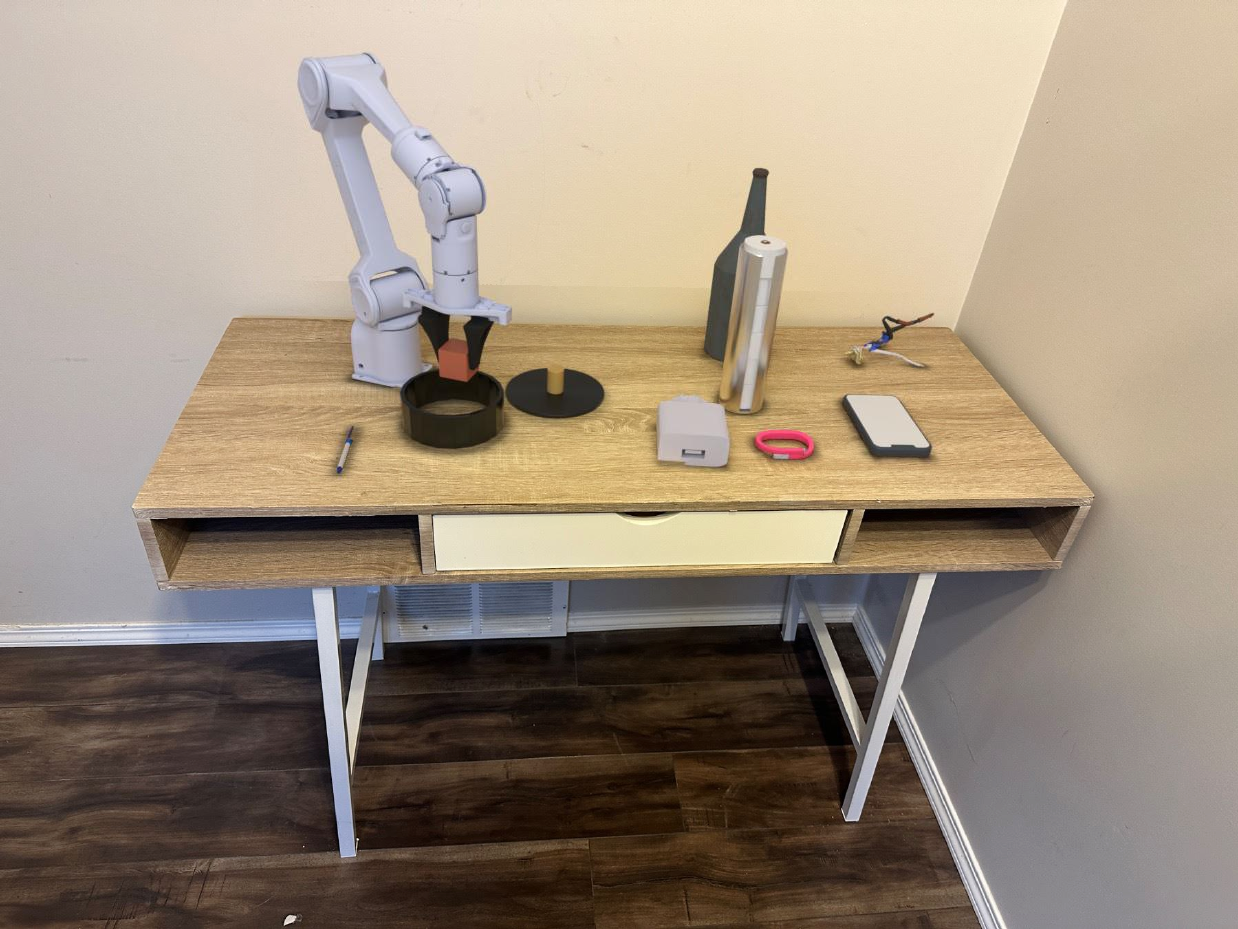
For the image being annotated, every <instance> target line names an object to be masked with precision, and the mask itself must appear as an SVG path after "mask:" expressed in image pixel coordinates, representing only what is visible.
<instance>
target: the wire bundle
mask: <svg viewBox="0 0 1238 929" xmlns="http://www.w3.org/2000/svg"><path fill="white" fill-rule="evenodd" d="M934 315H935V312H931V313H929V314H926V315H924V316H921V317H917V319H914V320H910V321H906V320H903V319H900V318H897V319H896V318H894V317H892V316H891V315H890V316H889V315H886V316H884V317H883V318H882V319H881V323H882V325H883V327H884V329H885V330H882V331H881V337H880V338H879V339H877V340H875V339H872V340H871V341H869V342H867V343H865V344H863V345H862V346H861V345H860V346H859V345H852V346H850V347H848V348H847V349H846V351H845V353H844V355H845V356H847V357H848V358H850V359H851V360H853V361H854V362H855V363H856V364H857V365H861V364H862V360H863V359H864V356H865V353H863V350H868V352H869V353H874V354H879V355H888V356H891V357H895V358H896V357H897V358H900V359H901V360H903V361H905V362H907V363H908V364H911V365H913V366H916V367H922V368H925V366H924V365H923V364H922V363H918V362H915V361H912V360H910V359H908V358H907V357H906V356H904V355H901V354H899V353H896V352H892V351H887V350H883V349H880V347H881V348H882V347H884V344H887V343H889V342H890V341H892V340H893V339H894V333H896V332H897V331H900V330H902V329H904V328H906V327H911V326H913V325H916V324H918V323H919V324H920V323H923V322H924V321H926V320H928V319H931V318H932V317H934ZM886 320H887V321H888V322H891V323H894V324H896V325H897V326H894V327H891V326H890V325H889V323H888V322H887V321H886Z"/></svg>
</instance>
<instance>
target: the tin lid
mask: <svg viewBox="0 0 1238 929" xmlns="http://www.w3.org/2000/svg"><path fill="white" fill-rule="evenodd" d="M505 397H506V399H507V401H508V402H509V404H511V405H512V406H513V407H514V408H515V409H517V410H519V411H520V412H523V413H525V414H527V415H530V416H534V417H538V418H543V419H544V418H546V419H570V418H575V417H580V416H584V415H587V414H589V413H591V412H593V411H595V410H596V409H597V408H598V407H600V406H601V405H602V403H603V401H604V399H605V389H604V387H603V385H602V384H601V382H600V381H599V380H597V379H596V378H595V377H593V376H591V375H590V374H587V373H585V372H582V371H579V370H575V369H571V368H565V367H564V366H562V365H560V364H551V365H549V366H547V367H542V368H541V367H540V368H535V369H530V370H527V371H524V372H521V373H519V374H517V375H515V376H514V377H512V378H511V379H510V380H509V381H508V383H507V384H506V387H505Z"/></svg>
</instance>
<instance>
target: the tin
mask: <svg viewBox="0 0 1238 929" xmlns="http://www.w3.org/2000/svg"><path fill="white" fill-rule="evenodd" d="M452 400H453V401H454V400H455V401H469V402H472V403H473V402H474V403H478V404H481V405H483V406H485V407H484V408H481V409H478V410H475V411H472V412H467V413H459V414H438V413H435V412H434V413H433V412H429V411H424V410H423V409H421V408H422V407H425V406H426V405H430V404H434V403H437V402H443V401H444V402H445V401H452ZM399 402H400V412H401V424H402V428H403V431H404V432H403V433H404V434H406V436H408V437H409V438H410V440H411V441H414V442H416V443H418V444H421V445H423V446H425V447H431V448H435V449H443V450H446V449H447V450H458V449H465V448H473V447H475V446H480V445H482V444H485V443H487V442H489V441H491V440H492V439H494V438H496V437H497V436H498V435H499V434H500V433H501V431H502V430H503V428H504V422H505V390H504V387H503V385H502V383H501V381H499V379H497V378H496V377H494V376H493V375H491V374H488V373H486V372H484V371H482V370H478V371H477V372H476V373H475V374H474V375H473V376H472V377H471V378H470V379H469V380H468V381H467V382H465V381H460V380H455V379H450V378H445V377H440V372H439V368H433V369H430V370H428V371H426V372H423V373H420V374H418V375H416V376H414V377H412V378H410V379H409V380H408V381H407V382H406V383H405V384H404V385H403V386H402V387H401V388H400V391H399Z"/></svg>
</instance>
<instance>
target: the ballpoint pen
mask: <svg viewBox="0 0 1238 929" xmlns="http://www.w3.org/2000/svg"><path fill="white" fill-rule="evenodd" d="M353 429H354V425H352V426H351V428H350V430H349V433H348V435H347V438H346V439H345V442H344V446H343V450H342V453H341V455H340V459H339V461H338V464H337V466H336V473H337V474H340V473H341V472H342V470H343V468H344V465H345V461H346V459H347V456H348V453H349V450H350V448H351V446H352V443H353V439H350V437H351V434H352V432H353Z"/></svg>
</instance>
